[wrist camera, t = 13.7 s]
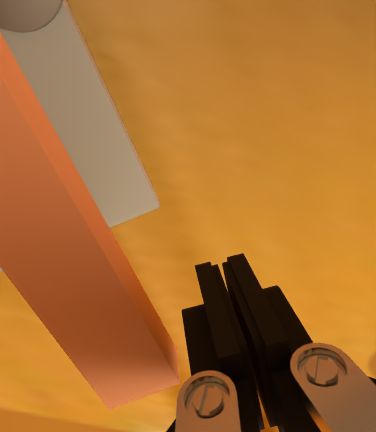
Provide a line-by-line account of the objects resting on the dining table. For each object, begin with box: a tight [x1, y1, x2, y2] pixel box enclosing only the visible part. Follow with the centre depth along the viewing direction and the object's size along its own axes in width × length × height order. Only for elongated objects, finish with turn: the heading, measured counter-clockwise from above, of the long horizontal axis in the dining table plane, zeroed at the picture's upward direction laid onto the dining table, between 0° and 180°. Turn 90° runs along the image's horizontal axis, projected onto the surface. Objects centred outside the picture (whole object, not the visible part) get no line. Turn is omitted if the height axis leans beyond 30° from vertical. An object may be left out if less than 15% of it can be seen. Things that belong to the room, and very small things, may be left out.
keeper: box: [0, 32, 180, 410], centre depth 8 cm, size 16×4×2 cm, turn 21°
